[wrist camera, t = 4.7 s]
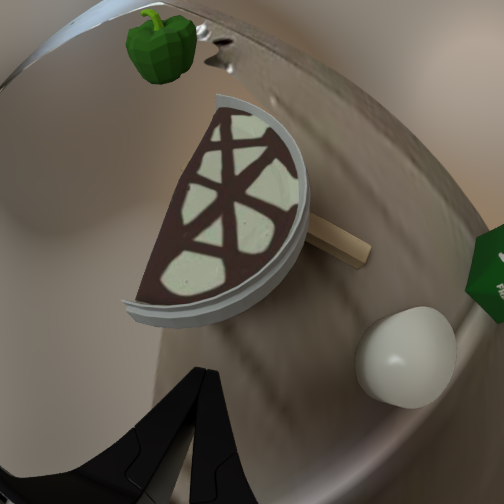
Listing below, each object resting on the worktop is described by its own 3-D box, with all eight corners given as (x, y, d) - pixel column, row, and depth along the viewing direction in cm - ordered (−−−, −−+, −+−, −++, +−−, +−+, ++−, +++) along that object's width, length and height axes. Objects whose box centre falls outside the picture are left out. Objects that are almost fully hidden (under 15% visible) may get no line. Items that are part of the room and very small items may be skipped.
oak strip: (357, 269, 20) (365, 263, 19) (183, 179, 22) (180, 169, 21) (363, 252, 21) (371, 246, 19) (194, 166, 23) (192, 155, 21)
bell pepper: (209, 76, 28) (205, 7, 19) (145, 100, 26) (126, 29, 17) (185, 53, 30) (179, -4, 21) (131, 73, 29) (115, 15, 19)
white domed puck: (405, 411, 16) (434, 418, 13) (338, 384, 17) (361, 390, 14) (435, 334, 19) (466, 329, 15) (375, 300, 20) (402, 289, 16)
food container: (262, 357, 18) (286, 366, 8) (176, 333, 18) (116, 315, 9) (298, 203, 22) (331, 111, 13) (225, 185, 22) (219, 88, 13)
